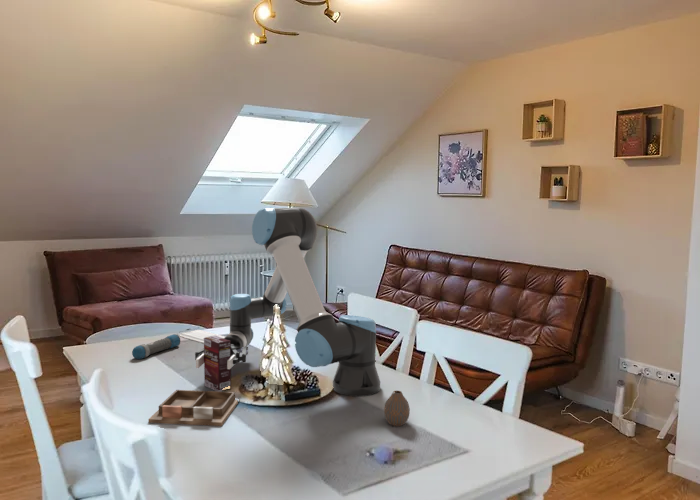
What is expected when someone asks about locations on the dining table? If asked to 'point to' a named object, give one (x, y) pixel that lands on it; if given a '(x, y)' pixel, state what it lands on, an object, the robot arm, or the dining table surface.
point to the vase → (396, 409)
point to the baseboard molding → (198, 335)
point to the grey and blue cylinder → (156, 346)
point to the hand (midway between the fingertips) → (212, 364)
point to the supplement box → (217, 362)
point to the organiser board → (195, 408)
